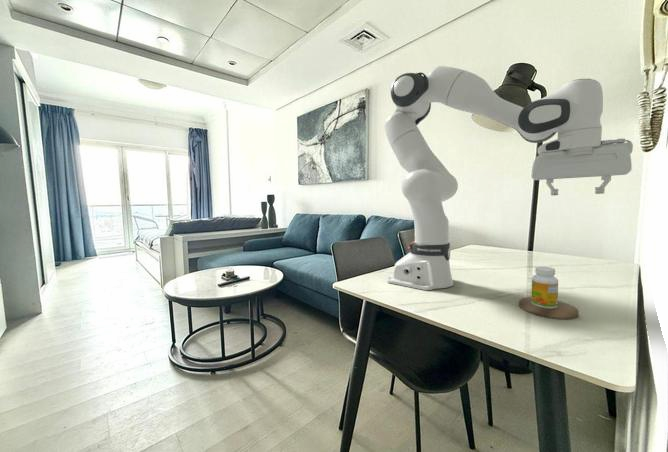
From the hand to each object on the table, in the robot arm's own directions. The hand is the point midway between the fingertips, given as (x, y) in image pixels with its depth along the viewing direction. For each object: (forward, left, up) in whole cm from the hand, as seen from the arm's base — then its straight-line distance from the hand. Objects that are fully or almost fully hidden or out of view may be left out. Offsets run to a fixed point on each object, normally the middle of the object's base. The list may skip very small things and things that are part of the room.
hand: (576, 194), depth 75 cm
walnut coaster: (-7, -13, -29) cm, 33 cm away
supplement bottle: (-8, -13, -28) cm, 32 cm away
